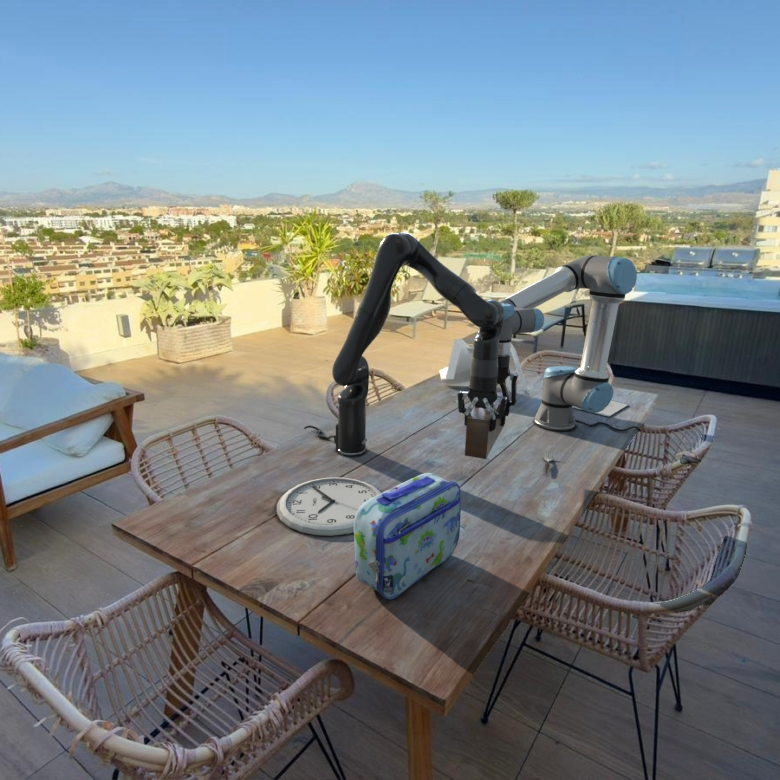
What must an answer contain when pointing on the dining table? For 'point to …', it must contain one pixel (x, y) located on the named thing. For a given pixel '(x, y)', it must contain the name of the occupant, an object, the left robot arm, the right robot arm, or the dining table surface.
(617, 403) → the invitation card
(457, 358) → the white plastic object
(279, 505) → the wall clock
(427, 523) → the lunch box
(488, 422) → the box
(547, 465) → the fork
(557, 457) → the dining table surface
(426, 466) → the dining table surface
